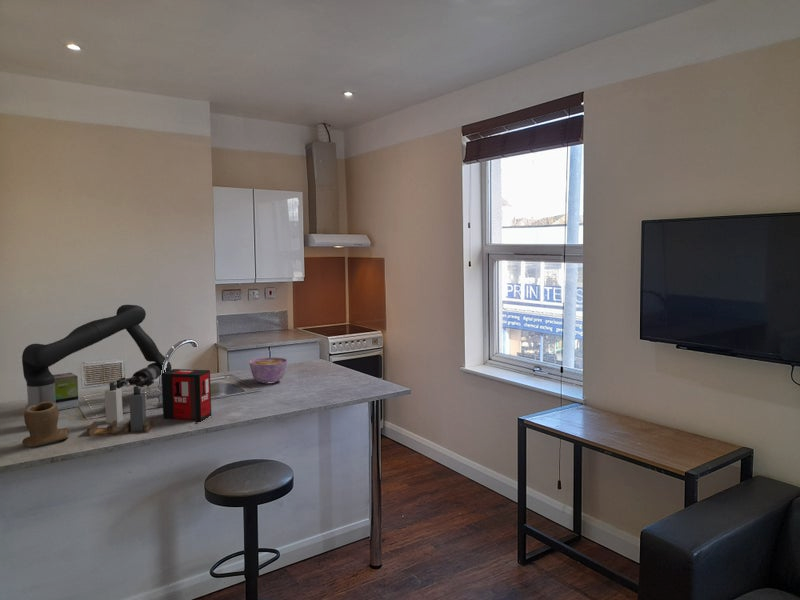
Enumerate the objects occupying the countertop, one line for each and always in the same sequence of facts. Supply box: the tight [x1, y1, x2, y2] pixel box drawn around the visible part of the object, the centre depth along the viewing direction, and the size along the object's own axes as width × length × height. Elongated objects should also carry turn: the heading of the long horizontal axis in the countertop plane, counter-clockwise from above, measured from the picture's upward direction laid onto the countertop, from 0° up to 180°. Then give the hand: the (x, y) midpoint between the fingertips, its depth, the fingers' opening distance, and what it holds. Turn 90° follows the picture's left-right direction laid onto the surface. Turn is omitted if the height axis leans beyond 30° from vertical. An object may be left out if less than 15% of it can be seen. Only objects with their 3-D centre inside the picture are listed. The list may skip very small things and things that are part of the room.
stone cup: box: [21, 402, 70, 448], centre depth 197 cm, size 15×12×15 cm
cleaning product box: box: [161, 368, 212, 422], centre depth 225 cm, size 16×9×20 cm, turn 82°
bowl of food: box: [248, 356, 288, 383], centre depth 288 cm, size 20×20×12 cm
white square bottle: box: [104, 381, 124, 424], centre depth 218 cm, size 4×4×17 cm
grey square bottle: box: [128, 386, 147, 432], centre depth 208 cm, size 4×4×17 cm
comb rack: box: [84, 417, 155, 438], centre depth 207 cm, size 22×10×4 cm, turn 102°
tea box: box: [52, 372, 79, 411], centre depth 239 cm, size 15×10×15 cm
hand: (127, 386), depth 230 cm, fingers open, 8 cm apart
